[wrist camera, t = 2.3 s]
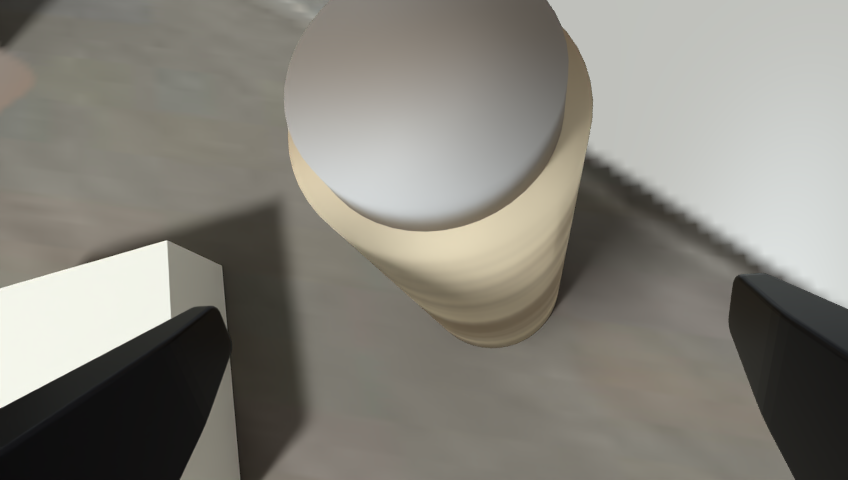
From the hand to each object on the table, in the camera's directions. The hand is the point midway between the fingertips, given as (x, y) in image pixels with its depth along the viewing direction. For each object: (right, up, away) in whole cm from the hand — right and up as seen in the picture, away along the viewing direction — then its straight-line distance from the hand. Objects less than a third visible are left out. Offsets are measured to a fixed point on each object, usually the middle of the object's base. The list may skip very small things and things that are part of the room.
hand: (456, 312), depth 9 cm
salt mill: (+2, 0, +10) cm, 10 cm away
